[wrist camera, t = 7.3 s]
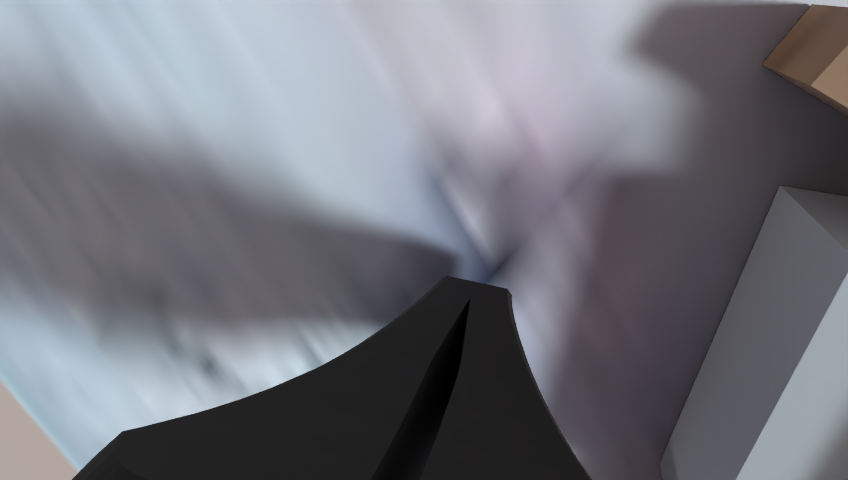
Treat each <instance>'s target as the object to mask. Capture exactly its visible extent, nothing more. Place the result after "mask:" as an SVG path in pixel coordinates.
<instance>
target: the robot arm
mask: <svg viewBox="0 0 848 480" xmlns="http://www.w3.org/2000/svg"><path fill="white" fill-rule="evenodd" d="M72 480H592V479H591V478H590V476H589V475H588V474H587V472H586V471H585V469H584V468H583V466H582V465H581V464H580V462H579V461H578V459H577V458H576V456H575V454H574V453H573V451H572V449H571V448H570V446H569V445H568V443H567V441H566V440H565V438H564V436H563V435H562V433H561V431H560V429H559V428H558V426H557V424H556V422H555V420H554V418H553V417H552V415H551V413H550V411H549V409H548V407H547V405H546V403H545V401H544V399H543V397H542V395H541V392H540V390H539V388H538V386H537V383H536V381H535V379H534V376H533V374H532V372H531V369H530V367H529V364H528V361H527V359H526V356H525V353H524V350H523V347H522V344H521V341H520V338H519V334H518V331H517V327H516V323H515V319H514V314H513V308H512V295H511V293H510V292H509V290H508V289H505V288H500V287H496V286H491V285H487V284H482V283H477V282H473V281H468V280H463V279H459V278H454V277H449V276H447V277H445V278H443V279H442V280H441V281H439V282H438V283H437V284H436V285H435V286H434V287H433V288H432V289H431V290H430V291H429V292H428V293H426V294H425V295H424V296H423V297H422V298H421V299H420V300H418V301H417V302H416V303H415V304H414V305H412V306H411V307H410V308H409V309H407V310H406V311H405V312H404V313H402V314H401V315H400V316H398V317H397V318H396V319H395V320H393V321H392V322H391V323H389V324H388V325H387V326H385V327H384V328H382V329H381V330H379V331H378V332H376V333H375V334H373V335H372V336H370V337H369V338H368V339H366V340H365V341H363V342H362V343H360V344H359V345H357V346H355V347H354V348H352V349H350V350H349V351H347V352H345V353H344V354H342V355H340V356H338V357H337V358H335V359H333V360H331V361H329V362H327V363H326V364H324V365H322V366H320V367H318V368H316V369H314V370H311V371H309V372H307V373H305V374H302V375H300V376H298V377H295V378H293V379H291V380H289V381H286V382H284V383H282V384H279V385H277V386H275V387H273V388H270V389H267V390H265V391H262V392H259V393H257V394H254V395H251V396H248V397H246V398H243V399H240V400H237V401H234V402H231V403H228V404H225V405H221V406H218V407H215V408H212V409H209V410H205V411H202V412H199V413H195V414H191V415H187V416H183V417H180V418H176V419H172V420H168V421H164V422H160V423H156V424H152V425H148V426H144V427H140V428H136V429H131V430H127V431H123V432H121V433H120V434H119V435H118V436H117V437H116V438H115V439H114V440H112V441H111V442H110V443H109V444H108V445H107V446H106V447H105V448H104V449H102V450H101V451H100V452H99V453H98V454H97V455H96V456H95V457H94V458H93V459H92V460H91V461H90V462H89V463H88V464H87V465H86V466H85V467H84V468H83V469H82V470H81V471H80V472H79V473H78V474H77V475H76V476H75V477H74V478H73V479H72Z"/></svg>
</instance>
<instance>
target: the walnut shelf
mask: <svg viewBox="0 0 848 480" xmlns="http://www.w3.org/2000/svg"><path fill="white" fill-rule="evenodd" d="M762 65H763V66H765V67H767V68H768V69H770V70H772V71H773V72H775V73H776V74H778V75H780V76H781V77H783V78H785V79H786V80H788V81H790V82H791V83H793V84H795V85H796V86H798V87H800V88H801V89H803V90H804V91H806V92H808V93H809V94H811V95H813V96H814V97H816V98H818V99H819V100H821V101H823V102H824V103H826V104H828V105H829V106H831V107H832V108H834V109H836V110H837V111H839V112H841V113H842V114H844V115H846V116H847V117H848V7H836V6H825V5H814V4H812V5H811V6H810V7H809V9H808V10H807V11H806V12H805V13H804V15H803V16H802V17H801V18H800V19H799V21H798V22H797V23H796V24H795V25H794V26H793V28H792V29H791V30H790V31H789V32H788V34H787V35H786V36H785V37H784V38H783V40H782V41H781V42H780V43H779V44H778V45H777V47H776V48H775V49H774V50H773V51H772V53H771V54H770V55H769V56H768V57H767V59H766V60H765V61H764V62H763V63H762Z"/></svg>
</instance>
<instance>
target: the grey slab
mask: <svg viewBox="0 0 848 480" xmlns="http://www.w3.org/2000/svg"><path fill="white" fill-rule="evenodd" d="M659 465H660V471H661V476H662V480H848V196H842V195H835V194H829V193H823V192H817V191H811V190H805V189H799V188H793V187H787V186H779V188H778V191H777V193H776V195H775V198H774V200H773V202H772V205H771V207H770V209H769V212H768V214H767V216H766V218H765V221H764V223H763V225H762V228H761V230H760V232H759V235H758V237H757V239H756V242H755V244H754V246H753V248H752V251H751V253H750V255H749V258H748V260H747V262H746V265H745V267H744V269H743V271H742V274H741V276H740V278H739V281H738V283H737V285H736V288H735V290H734V292H733V295H732V297H731V299H730V301H729V304H728V306H727V308H726V311H725V313H724V315H723V318H722V320H721V322H720V325H719V327H718V329H717V331H716V334H715V336H714V338H713V341H712V343H711V345H710V348H709V350H708V352H707V355H706V357H705V359H704V361H703V364H702V366H701V368H700V371H699V373H698V375H697V378H696V380H695V382H694V384H693V387H692V389H691V391H690V394H689V396H688V398H687V401H686V403H685V405H684V408H683V410H682V412H681V414H680V417H679V419H678V421H677V424H676V426H675V428H674V431H673V433H672V435H671V438H670V440H669V442H668V444H667V447H666V449H665V451H664V454H663V456H662V458H661V461H660V463H659Z"/></svg>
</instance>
